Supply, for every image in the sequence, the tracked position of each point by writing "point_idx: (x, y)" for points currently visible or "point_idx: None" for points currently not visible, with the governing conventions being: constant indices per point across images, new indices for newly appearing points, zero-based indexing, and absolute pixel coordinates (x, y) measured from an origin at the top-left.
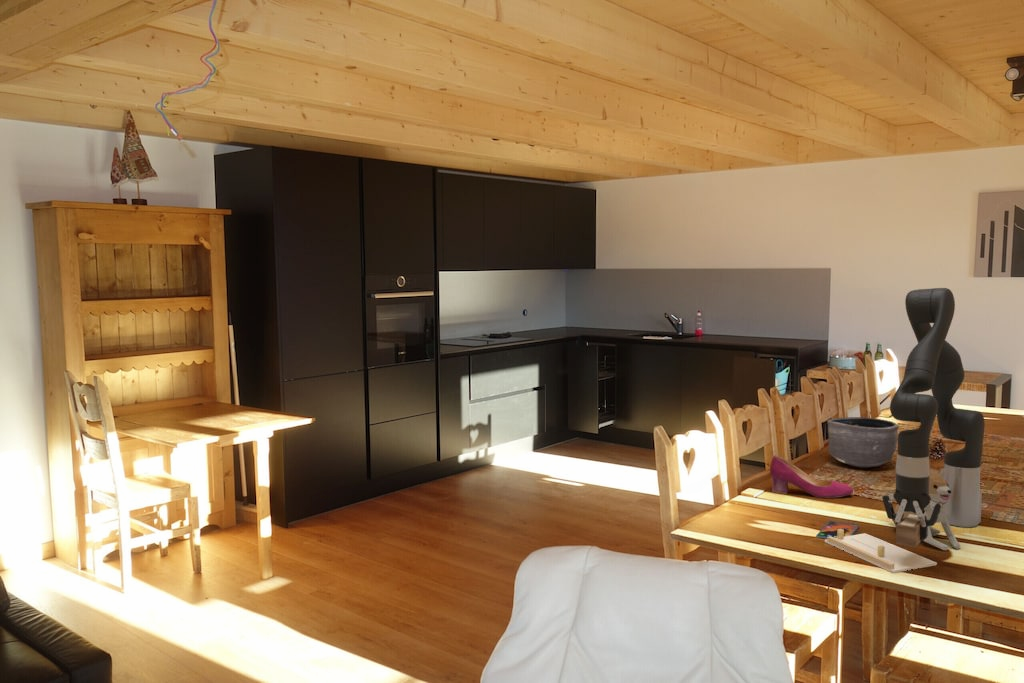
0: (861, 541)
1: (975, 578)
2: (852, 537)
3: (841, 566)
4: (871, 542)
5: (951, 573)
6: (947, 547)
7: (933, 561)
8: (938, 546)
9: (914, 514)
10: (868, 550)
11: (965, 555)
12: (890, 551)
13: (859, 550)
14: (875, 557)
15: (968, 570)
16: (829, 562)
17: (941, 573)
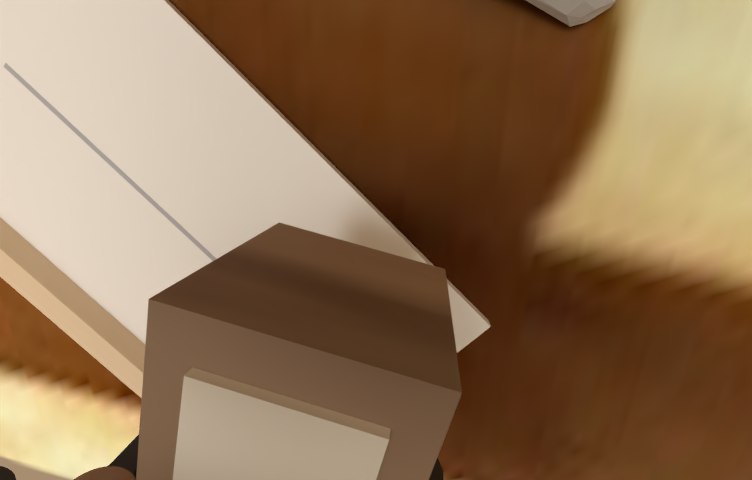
0: (68, 97)
1: (659, 447)
2: (3, 34)
3: (88, 458)
4: (122, 92)
5: (546, 414)
6: (613, 3)
7: (473, 311)
8: (545, 6)
9: (257, 333)
10: (136, 253)
11: (716, 61)
12: (243, 226)
13: (92, 350)
14: None
15: (653, 347)
16: (36, 429)
17: (496, 427)
